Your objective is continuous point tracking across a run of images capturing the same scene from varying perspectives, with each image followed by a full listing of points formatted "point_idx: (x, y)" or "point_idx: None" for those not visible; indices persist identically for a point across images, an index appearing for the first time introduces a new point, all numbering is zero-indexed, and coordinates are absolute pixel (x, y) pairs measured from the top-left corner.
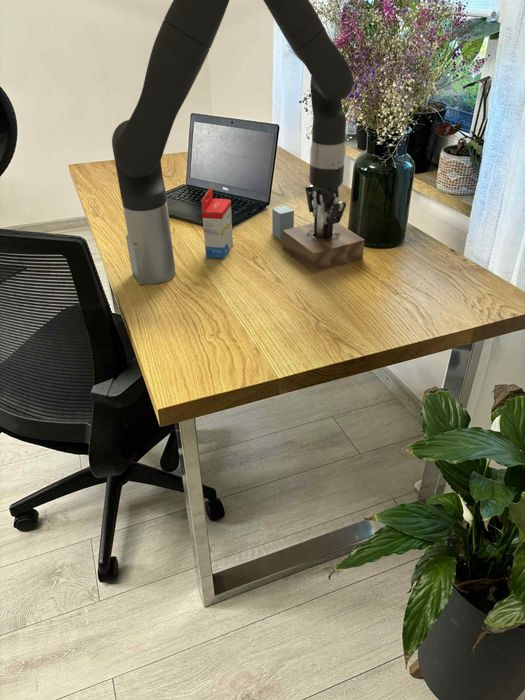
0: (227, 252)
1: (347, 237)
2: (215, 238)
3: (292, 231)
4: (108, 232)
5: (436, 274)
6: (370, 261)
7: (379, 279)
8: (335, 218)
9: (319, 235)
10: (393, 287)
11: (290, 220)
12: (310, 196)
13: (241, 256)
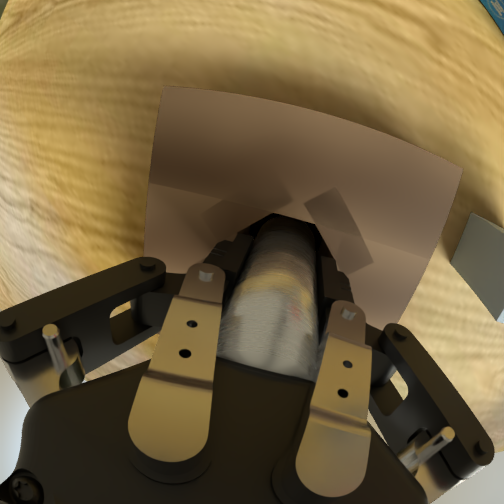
0: (498, 23)
1: None
2: None
3: (424, 188)
4: None
5: None
6: None
7: (77, 228)
8: (136, 313)
9: (273, 235)
10: (47, 223)
11: (486, 283)
12: (433, 415)
13: (466, 28)
